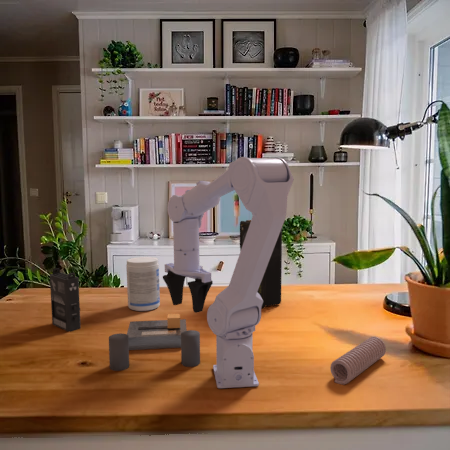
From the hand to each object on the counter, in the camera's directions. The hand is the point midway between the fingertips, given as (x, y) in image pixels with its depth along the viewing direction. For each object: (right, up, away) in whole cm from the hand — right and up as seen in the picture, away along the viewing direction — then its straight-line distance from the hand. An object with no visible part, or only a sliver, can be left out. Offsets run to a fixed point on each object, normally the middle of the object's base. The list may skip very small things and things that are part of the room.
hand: (187, 307), depth 101 cm
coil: (+36, -11, -9) cm, 39 cm away
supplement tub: (-16, -6, +33) cm, 37 cm away
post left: (-14, -11, -7) cm, 19 cm away
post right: (+1, -11, -6) cm, 12 cm away
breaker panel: (-8, -9, +7) cm, 14 cm away
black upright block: (+19, -5, +39) cm, 44 cm away
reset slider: (-4, -6, +7) cm, 10 cm away
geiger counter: (-33, -8, +17) cm, 38 cm away
